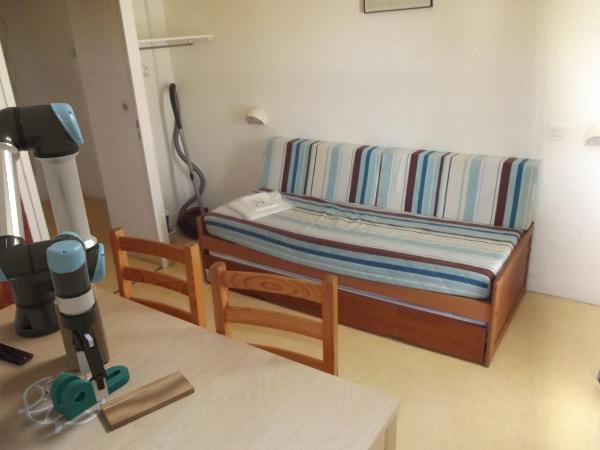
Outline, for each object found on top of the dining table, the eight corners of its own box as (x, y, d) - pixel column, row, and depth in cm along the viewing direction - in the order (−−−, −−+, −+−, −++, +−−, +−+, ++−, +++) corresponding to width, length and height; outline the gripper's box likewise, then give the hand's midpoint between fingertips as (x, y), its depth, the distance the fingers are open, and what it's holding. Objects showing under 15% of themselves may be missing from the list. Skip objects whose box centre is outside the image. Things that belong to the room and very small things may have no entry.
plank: (100, 409, 121) (99, 404, 120) (179, 374, 132) (179, 370, 131) (112, 430, 114) (111, 425, 114) (194, 391, 125) (194, 387, 125)
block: (70, 373, 133) (54, 306, 126) (69, 353, 142) (54, 289, 135) (110, 362, 137) (97, 297, 130) (107, 343, 146) (94, 280, 138)
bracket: (70, 421, 118) (63, 393, 115) (54, 409, 121) (47, 382, 118) (135, 378, 131) (130, 352, 128) (119, 369, 135) (114, 344, 132)
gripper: (47, 293, 124) (65, 367, 132) (74, 336, 106) (93, 419, 114) (79, 283, 128) (95, 356, 136) (111, 323, 110) (127, 404, 118)
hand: (94, 385), depth 125 cm, fingers open, 12 cm apart
